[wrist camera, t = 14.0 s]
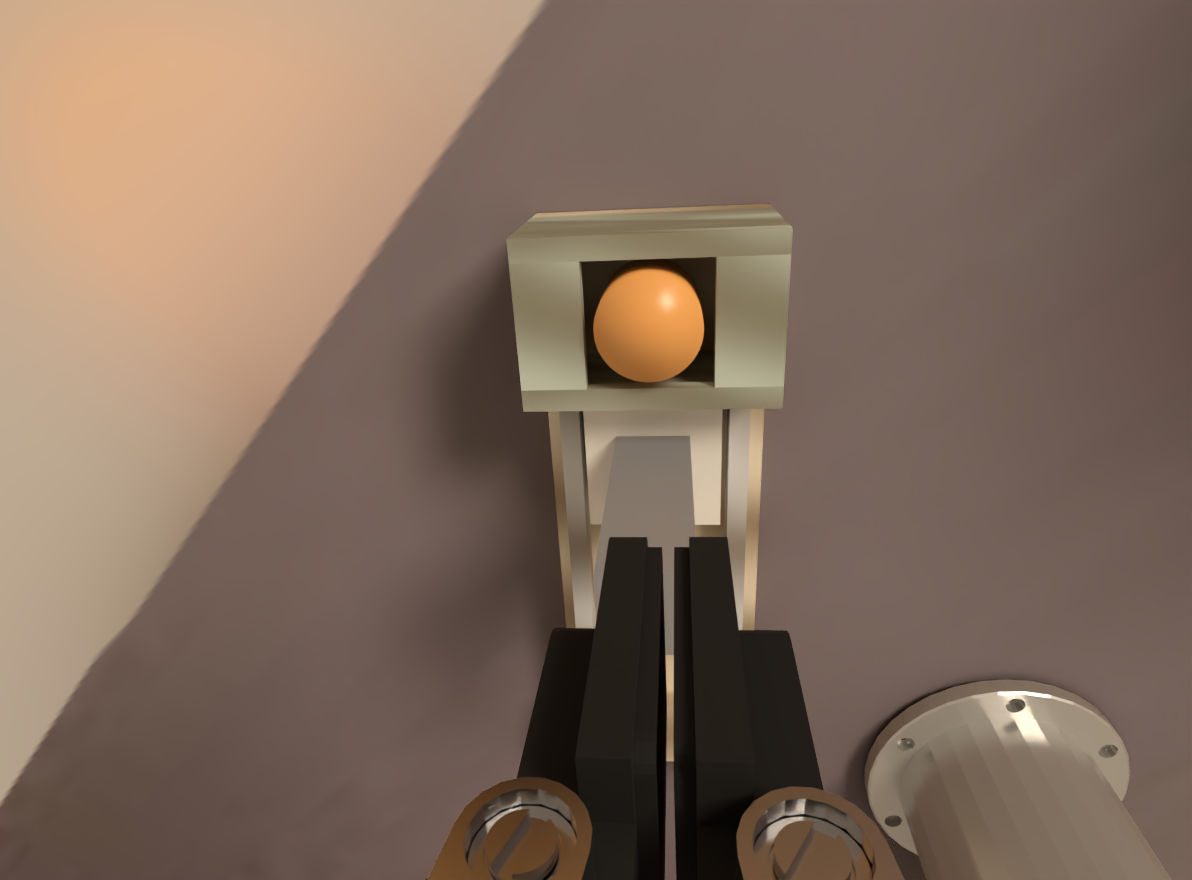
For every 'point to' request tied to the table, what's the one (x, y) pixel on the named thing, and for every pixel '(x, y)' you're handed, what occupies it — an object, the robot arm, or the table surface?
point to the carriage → (653, 483)
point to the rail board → (712, 381)
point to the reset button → (649, 320)
